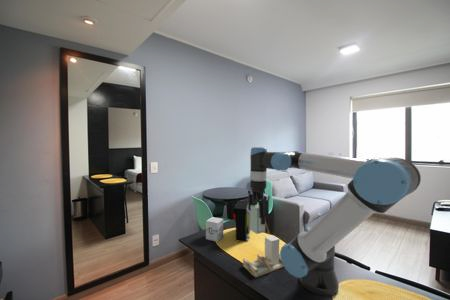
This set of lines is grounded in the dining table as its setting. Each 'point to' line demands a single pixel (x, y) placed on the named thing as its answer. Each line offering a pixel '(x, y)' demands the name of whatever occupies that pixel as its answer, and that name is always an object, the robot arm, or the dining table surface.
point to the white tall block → (272, 249)
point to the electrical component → (242, 220)
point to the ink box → (214, 229)
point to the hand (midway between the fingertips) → (257, 228)
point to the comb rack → (261, 266)
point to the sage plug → (255, 219)
